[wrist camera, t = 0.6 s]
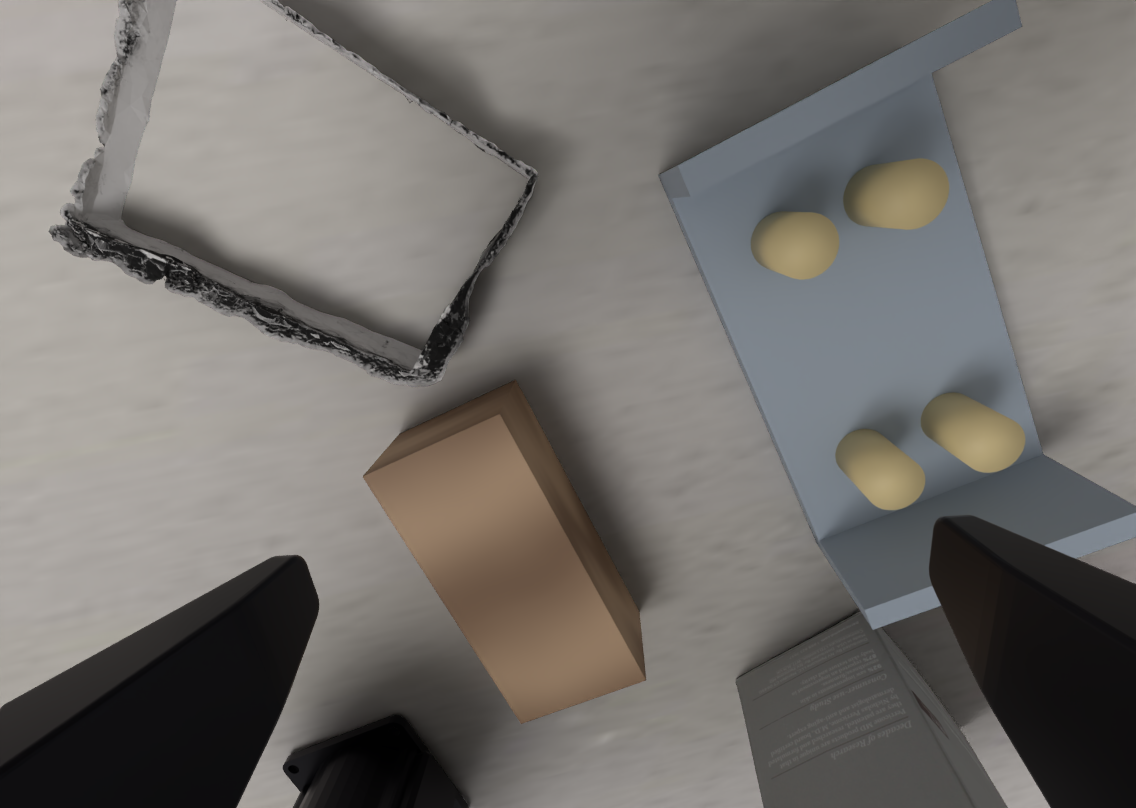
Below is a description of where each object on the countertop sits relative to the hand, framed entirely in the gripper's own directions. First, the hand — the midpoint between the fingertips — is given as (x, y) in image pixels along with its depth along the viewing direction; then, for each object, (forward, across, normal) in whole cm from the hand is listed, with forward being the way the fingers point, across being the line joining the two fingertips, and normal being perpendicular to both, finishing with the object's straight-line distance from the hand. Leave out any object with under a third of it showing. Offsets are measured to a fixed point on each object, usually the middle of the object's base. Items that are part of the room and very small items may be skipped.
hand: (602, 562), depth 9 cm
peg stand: (+14, -8, +1) cm, 16 cm away
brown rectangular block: (+13, +4, +8) cm, 16 cm away
